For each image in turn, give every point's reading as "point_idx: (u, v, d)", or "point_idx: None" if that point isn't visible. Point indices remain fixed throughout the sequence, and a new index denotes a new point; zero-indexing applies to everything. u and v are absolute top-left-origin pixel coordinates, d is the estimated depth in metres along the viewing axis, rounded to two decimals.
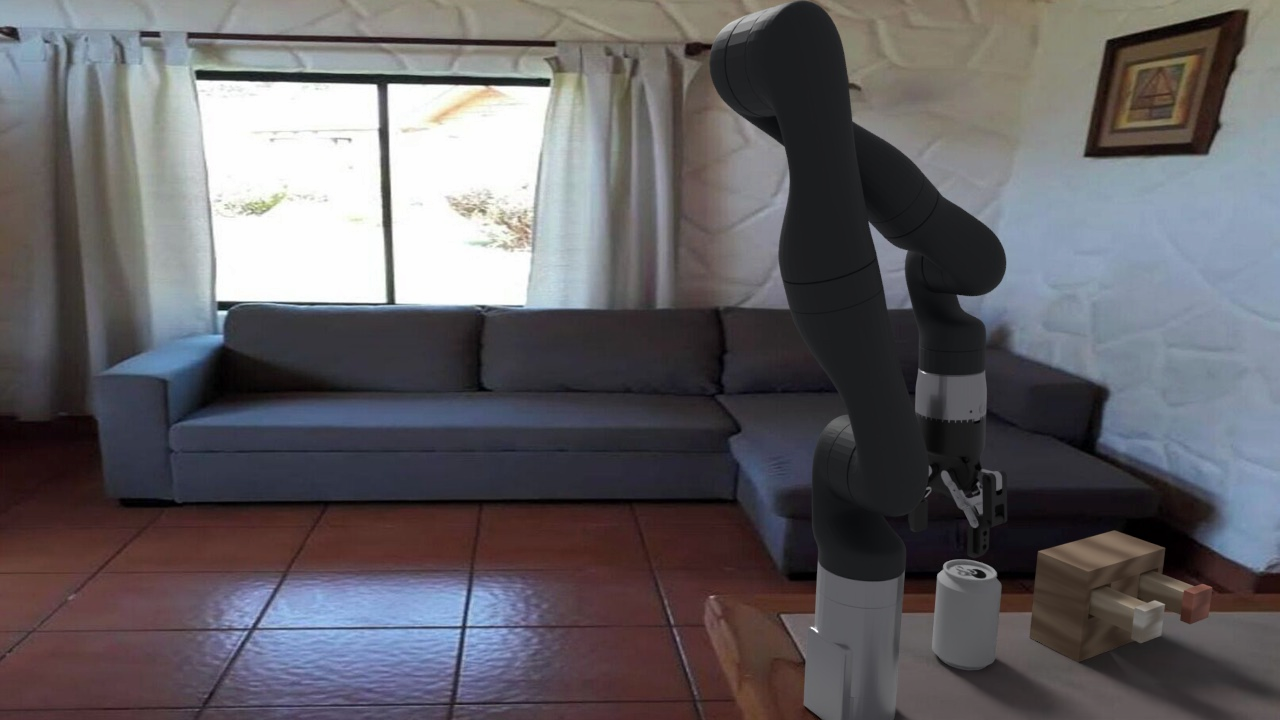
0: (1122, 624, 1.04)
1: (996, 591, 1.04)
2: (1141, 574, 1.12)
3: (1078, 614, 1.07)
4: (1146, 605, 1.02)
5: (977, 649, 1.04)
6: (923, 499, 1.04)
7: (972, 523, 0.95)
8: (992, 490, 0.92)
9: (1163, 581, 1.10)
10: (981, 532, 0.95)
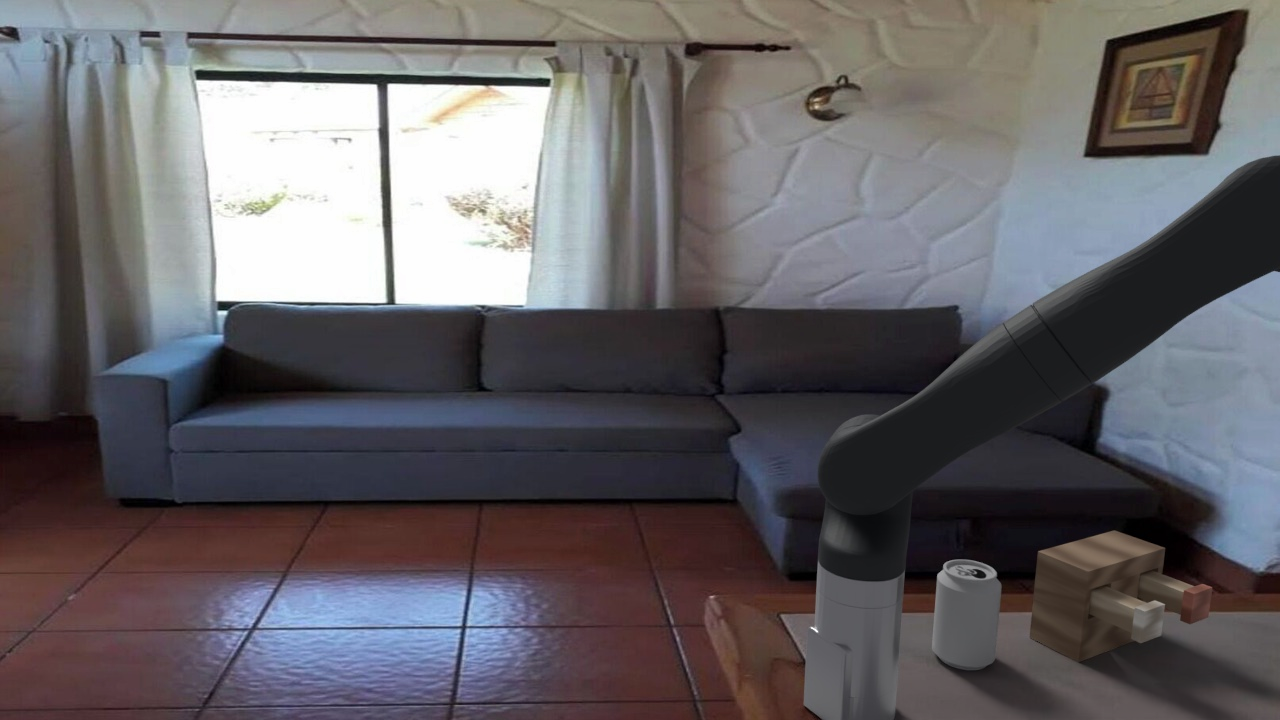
0: (1122, 624, 1.04)
1: (996, 591, 1.04)
2: (1141, 574, 1.12)
3: (1078, 614, 1.07)
4: (1146, 605, 1.02)
5: (977, 649, 1.04)
6: None
7: None
8: None
9: (1163, 581, 1.10)
10: None
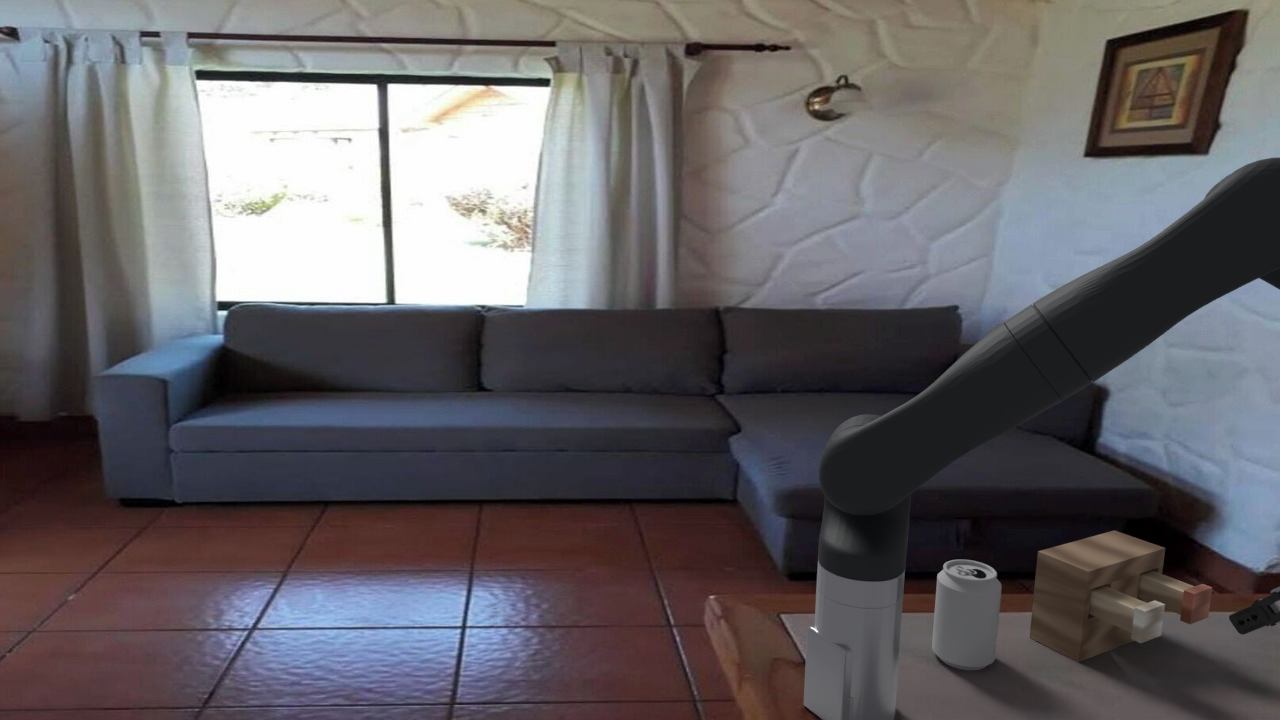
0: (1122, 624, 1.04)
1: (996, 591, 1.04)
2: (1141, 574, 1.12)
3: (1078, 614, 1.07)
4: (1146, 605, 1.02)
5: (977, 649, 1.04)
6: None
7: (1260, 599, 0.91)
8: (1266, 599, 0.86)
9: (1163, 581, 1.10)
10: (1253, 611, 0.91)
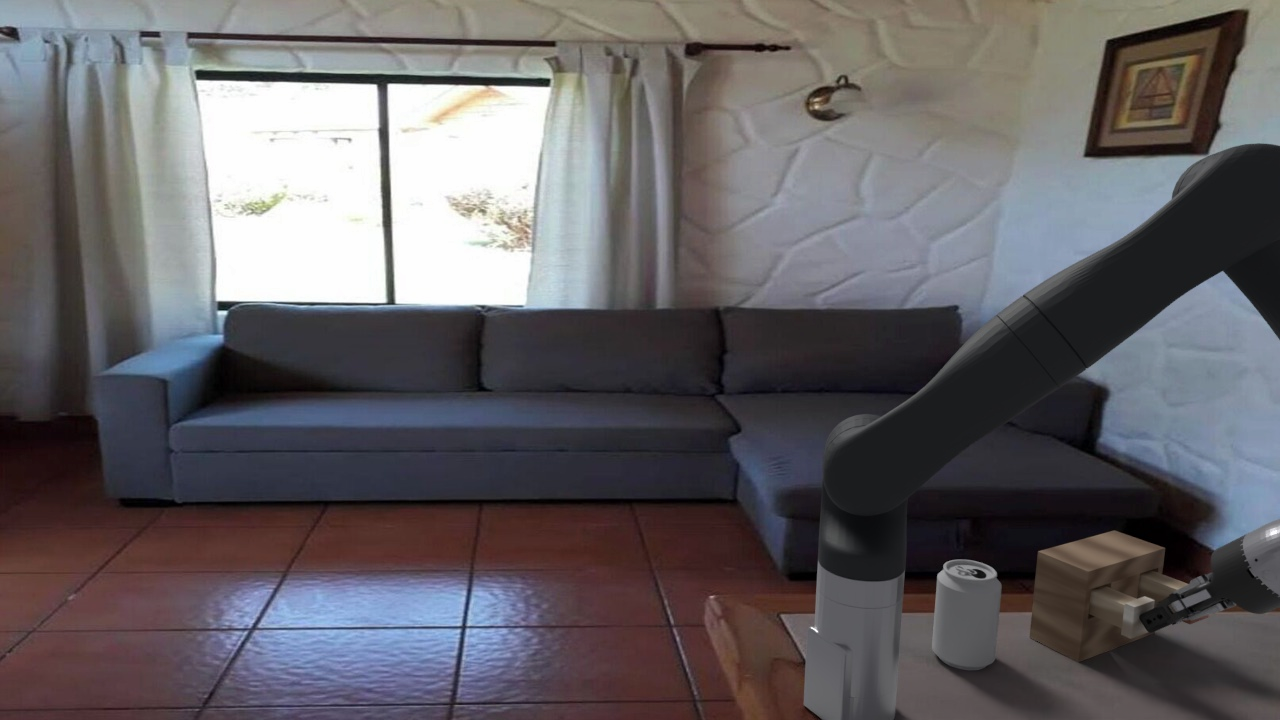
0: (1112, 620, 1.05)
1: (996, 591, 1.04)
2: (1141, 574, 1.12)
3: (1078, 614, 1.07)
4: (1136, 601, 1.03)
5: (977, 649, 1.04)
6: None
7: None
8: (1165, 600, 0.95)
9: (1163, 581, 1.10)
10: (1158, 611, 1.00)
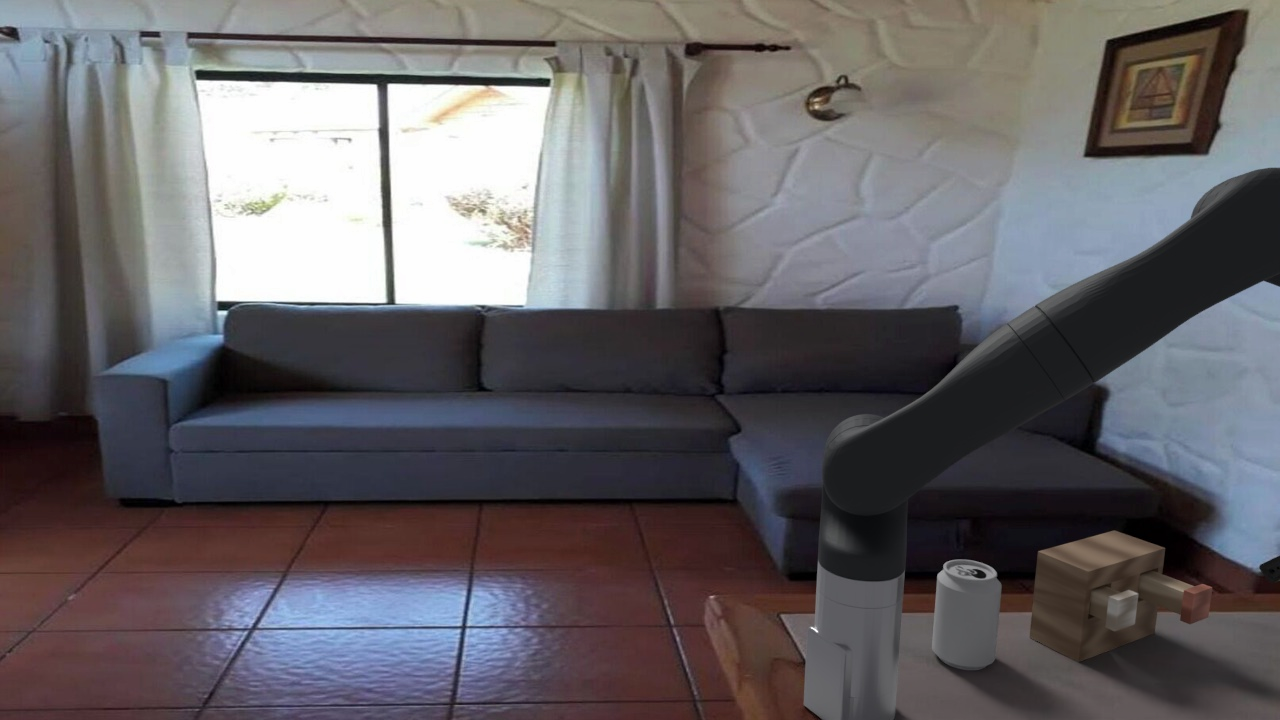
0: (1097, 613, 1.07)
1: (996, 591, 1.04)
2: (1141, 574, 1.12)
3: (1078, 614, 1.07)
4: (1120, 594, 1.05)
5: (977, 649, 1.04)
6: None
7: None
8: None
9: (1163, 581, 1.10)
10: None
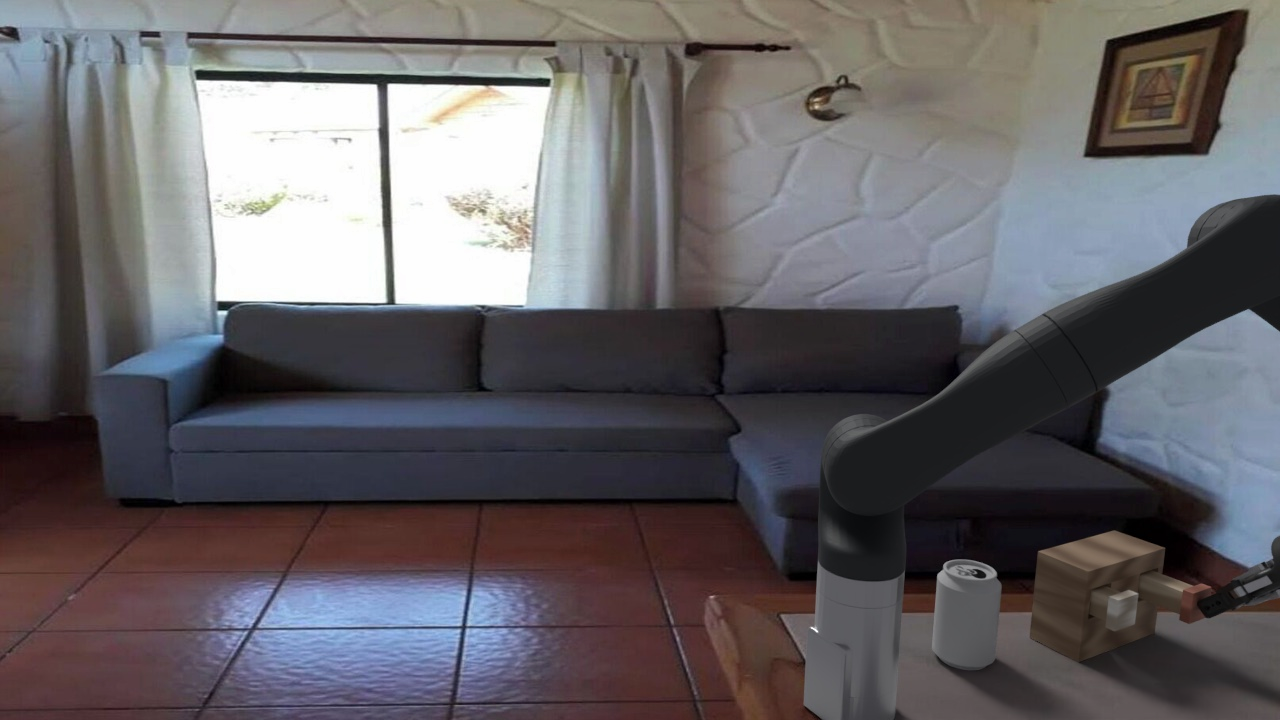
0: (1097, 613, 1.07)
1: (996, 591, 1.04)
2: (1140, 574, 1.12)
3: (1078, 614, 1.07)
4: (1120, 594, 1.05)
5: (977, 649, 1.04)
6: None
7: None
8: (1226, 586, 0.99)
9: (1162, 580, 1.10)
10: (1217, 597, 1.04)
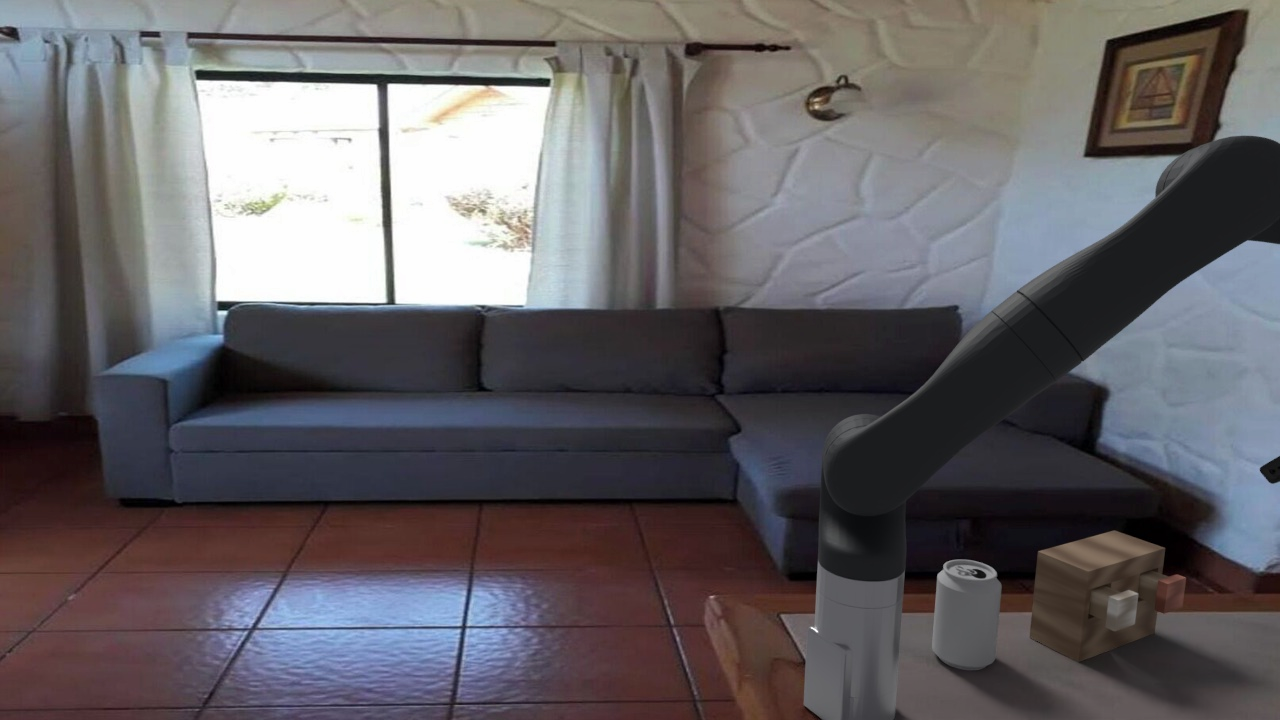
0: (1097, 613, 1.07)
1: (996, 591, 1.04)
2: None
3: (1078, 614, 1.07)
4: (1120, 594, 1.05)
5: (977, 649, 1.04)
6: None
7: None
8: None
9: None
10: None
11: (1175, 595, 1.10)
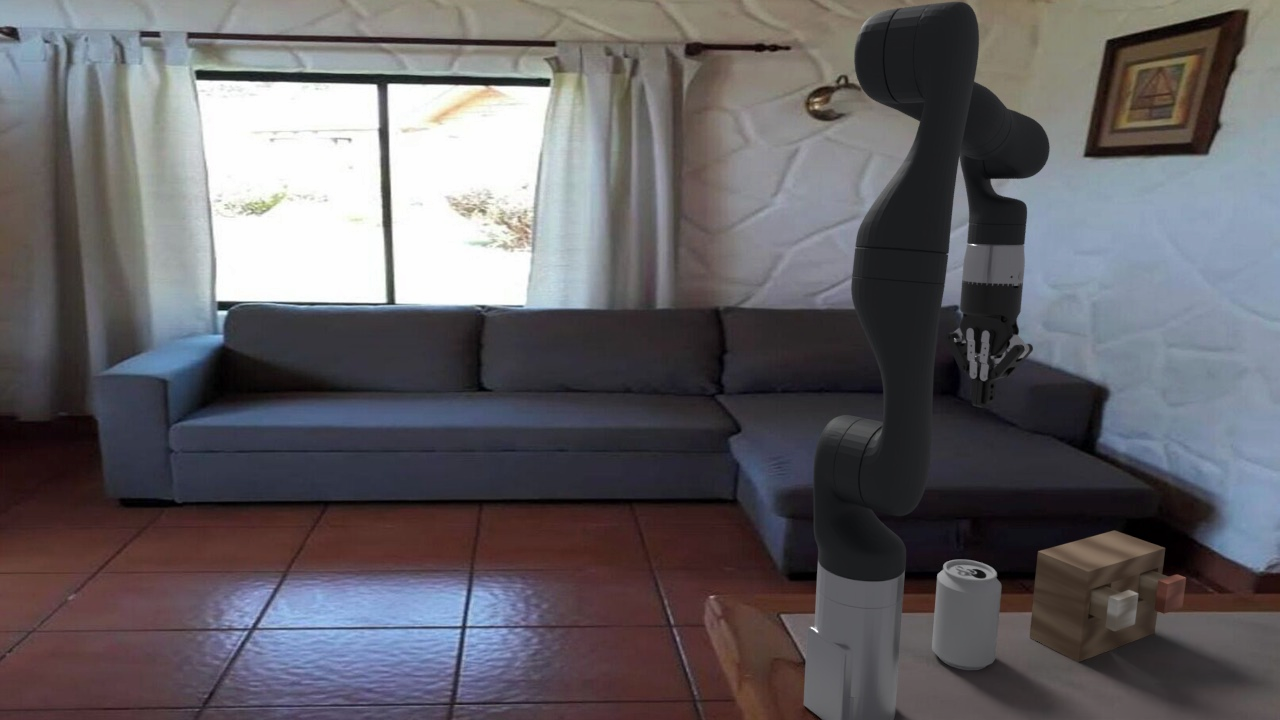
0: (1097, 613, 1.07)
1: (996, 591, 1.04)
2: None
3: (1078, 614, 1.07)
4: (1120, 594, 1.05)
5: (977, 649, 1.04)
6: None
7: (982, 376, 1.16)
8: (1015, 358, 1.11)
9: None
10: (989, 384, 1.16)
11: (1175, 595, 1.10)
